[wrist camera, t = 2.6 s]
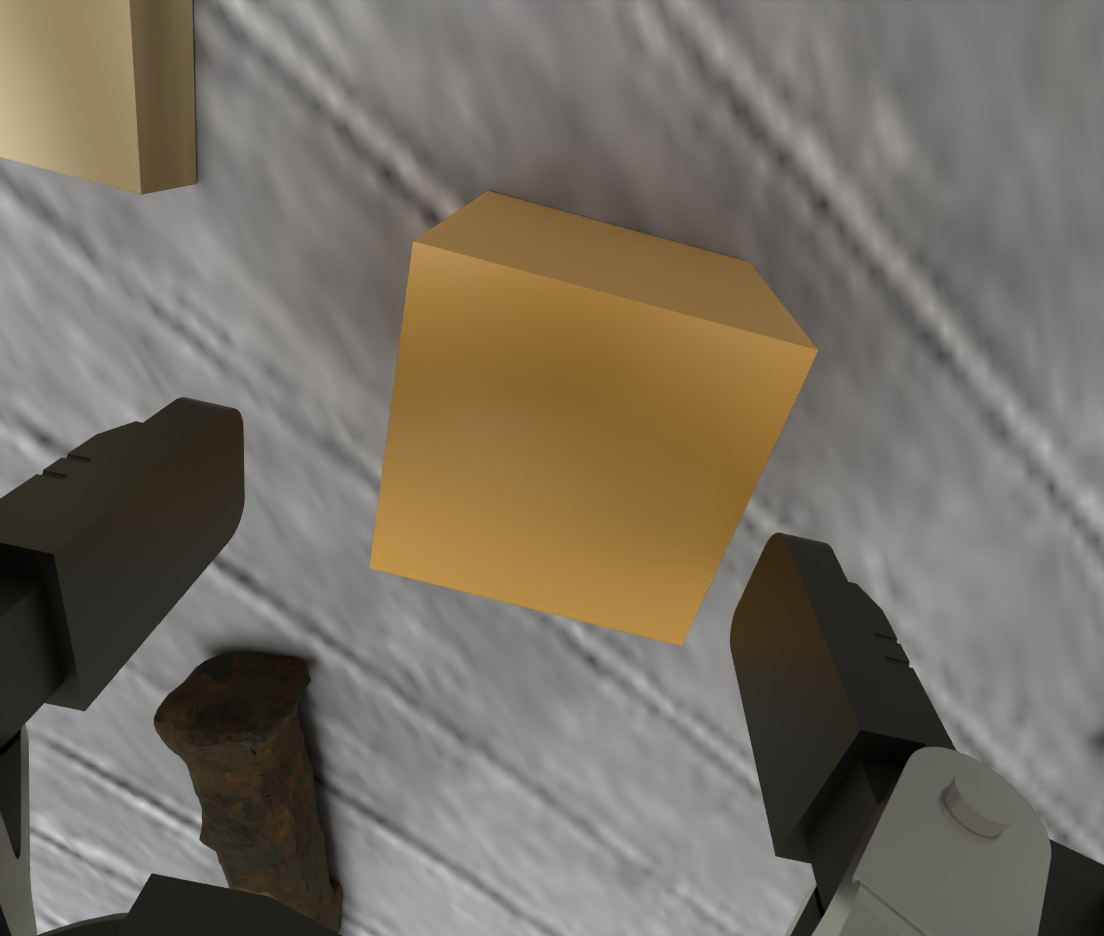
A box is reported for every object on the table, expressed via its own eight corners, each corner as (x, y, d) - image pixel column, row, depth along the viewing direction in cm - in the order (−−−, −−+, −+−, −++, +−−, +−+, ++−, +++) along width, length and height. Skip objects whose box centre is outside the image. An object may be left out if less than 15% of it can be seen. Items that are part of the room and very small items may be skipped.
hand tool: (204, 633, 23) (112, 751, 18) (321, 648, 22) (253, 770, 18) (275, 932, 32) (224, 1054, 28) (357, 944, 32) (318, 1068, 28)
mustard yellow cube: (749, 262, 15) (818, 350, 10) (664, 485, 18) (681, 645, 13) (487, 190, 15) (413, 241, 9) (444, 428, 18) (369, 567, 12)
